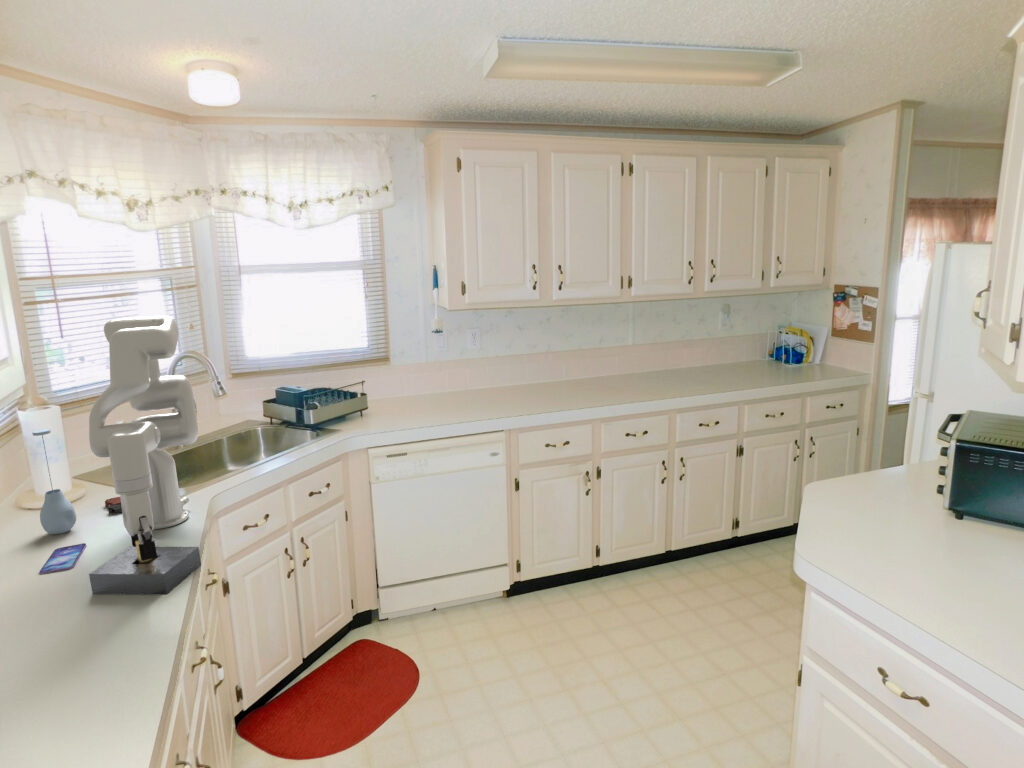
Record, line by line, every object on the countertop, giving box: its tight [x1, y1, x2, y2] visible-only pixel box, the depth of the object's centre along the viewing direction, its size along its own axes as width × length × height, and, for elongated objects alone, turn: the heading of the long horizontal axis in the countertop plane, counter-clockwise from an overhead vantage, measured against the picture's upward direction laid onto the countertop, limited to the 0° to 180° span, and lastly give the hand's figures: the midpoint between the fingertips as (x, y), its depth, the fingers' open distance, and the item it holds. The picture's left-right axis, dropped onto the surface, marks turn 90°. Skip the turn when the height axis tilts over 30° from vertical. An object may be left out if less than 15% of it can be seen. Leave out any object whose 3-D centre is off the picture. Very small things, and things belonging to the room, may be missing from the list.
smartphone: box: [38, 542, 87, 575], centre depth 165 cm, size 7×1×15 cm
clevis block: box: [88, 545, 202, 596], centre depth 152 cm, size 14×18×5 cm
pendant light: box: [31, 428, 77, 535], centre depth 179 cm, size 8×8×30 cm
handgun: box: [104, 496, 122, 515], centre depth 202 cm, size 16×3×12 cm
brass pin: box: [135, 539, 153, 564], centre depth 152 cm, size 3×3×10 cm
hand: (144, 551), depth 152 cm, fingers open, 9 cm apart
